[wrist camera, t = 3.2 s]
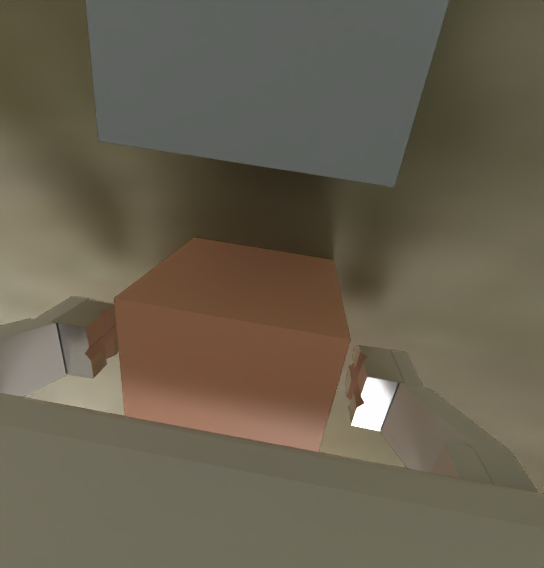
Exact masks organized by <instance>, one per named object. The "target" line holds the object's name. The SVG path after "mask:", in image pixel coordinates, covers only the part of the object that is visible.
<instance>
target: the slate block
mask: <svg viewBox="0 0 544 568" xmlns="http://www.w3.org/2000/svg"><path fill="white" fill-rule="evenodd" d="M448 3H449V0H86V11H87V22H88V33H89V44H90V55H91V66H92V77H93V88H94V99H95V110H96V121H97V132H98V141H101V142H108V143H114V144H120V145H127V146H133V147H140V148H146V149H153V150H159V151H165V152H172V153H178V154H185V155H191V156H197V157H204V158H210V159H217V160H223V161H229V162H236V163H242V164H249V165H255V166H262V167H268V168H274V169H281V170H287V171H294V172H300V173H306V174H313V175H319V176H326V177H332V178H338V179H345V180H351V181H358V182H364V183H371V184H377V185H383V186H390V187H394V186H395V183H396V180H397V176H398V173H399V169H400V166H401V163H402V159H403V156H404V152H405V149H406V146H407V142H408V139H409V135H410V132H411V129H412V125H413V122H414V118H415V115H416V112H417V108H418V105H419V101H420V98H421V95H422V91H423V88H424V85H425V81H426V78H427V74H428V71H429V68H430V64H431V61H432V57H433V54H434V51H435V47H436V44H437V40H438V37H439V34H440V30H441V27H442V23H443V20H444V17H445V13H446V10H447V6H448Z"/></svg>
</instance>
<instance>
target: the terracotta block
mask: <svg viewBox="0 0 544 568" xmlns="http://www.w3.org/2000/svg"><path fill="white" fill-rule="evenodd" d="M114 305H115V316H116V327H117V337H118V348H119V358H120V369H121V380H122V390H123V401H124V412H125V416H128V417H133V418H138V419H144V420H149V421H155V422H160V423H165V424H171V425H176V426H182V427H187V428H193V429H198V430H203V431H209V432H214V433H220V434H225V435H230V436H236V437H241V438H246V439H252V440H257V441H262V442H268V443H273V444H278V445H284V446H289V447H294V448H300V449H305V450H310V451H316V452H319V448H320V445H321V441H322V438H323V434H324V431H325V427H326V424H327V420H328V417H329V413H330V410H331V407H332V403H333V400H334V396H335V393H336V389H337V386H338V382H339V379H340V375H341V372H342V368H343V365H344V362H345V358H346V355H347V351H348V348H349V344H350V341H351V339H350V334H349V330H348V325H347V320H346V316H345V311H344V306H343V302H342V297H341V292H340V288H339V283H338V279H337V274H336V269H335V265H334V260H331V259H325V258H318V257H312V256H306V255H300V254H294V253H288V252H282V251H275V250H269V249H263V248H257V247H251V246H245V245H238V244H232V243H226V242H220V241H214V240H208V239H202V238H195V237H194V238H193V239H191V240H190V241H189V242H187V243H186V244H185V245H183V246H182V247H181V248H180V249H178V250H177V251H176V252H174V253H173V254H172V255H170V256H169V257H168V258H166V259H165V260H164V261H162V262H161V263H160V264H158V265H157V266H156V267H155V268H153V269H152V270H151V271H149V272H148V273H147V274H145V275H144V276H143V277H141V278H140V279H139V280H137V281H136V282H135V283H133V284H132V285H131V286H130V287H128V288H127V289H126V290H124V291H123V292H122V293H120V294H119V295H118V296H116V297H115V298H114Z"/></svg>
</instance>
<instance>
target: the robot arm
mask: <svg viewBox="0 0 544 568" xmlns="http://www.w3.org/2000/svg"><path fill="white" fill-rule="evenodd" d="M118 351H119V348H118V337H117V327H116V316H115V305H114V303H112V302H106V301H101V300H96V299H90V298H86V297H79V296H71V297H70V298H68V299H66V300H65V301H63V302H61V303H60V304H58V305H57V306H55V307H53V308H52V309H50V310H48V311H47V312H45V313H44V314H42V315H40V316H39V317H37V318H35V319H30V318H29V319H25V320H21V321H17V322H13V323H8V324H4V325H0V568H544V494H541V493H539V492H538V491H537V489H536V488H535V486H534V485H533V483H532V482H531V480H530V479H529V477H528V476H527V474H526V473H525V471H524V470H523V468H522V467H521V466H520V464H519V463H518V461H517V460H516V458H515V457H514V455H513V454H512V452H511V451H510V450H509V449H507V448H506V447H505V446H503V445H502V444H501V443H500V442H498V441H497V440H496V439H494V438H493V437H492V436H491V435H489V434H488V433H487V432H485V431H484V430H483V429H481V428H480V427H479V426H478V425H476V424H475V423H474V422H472V421H471V420H470V419H468V418H467V417H466V416H465V415H463V414H462V413H461V412H459V411H458V410H457V409H455V408H454V407H453V406H452V405H450V404H449V403H448V402H446V401H445V400H444V399H443V398H441V397H440V396H439V395H437V394H436V393H435V392H433V391H432V390H431V389H430V388H425V387H424V386H423V384H422V382H421V380H420V378H419V376H418V374H417V372H416V370H415V368H414V366H413V364H412V362H411V360H410V358H409V356H408V354H407V353H406V352H404V351H397V350H389V349H382V348H375V347H368V346H361V345H356V347H355V349H354V352H353V355H352V356H353V361H354V363H353V364H352V365H350V366H349V368H348V372H347V377H346V395H347V397H348V398H349V399H350V400H351V401H350V404H349V407H348V408H349V414H350V419H351V425H353V426H358V427H362V428H367V429H372V430H377V431H381V432H380V433H381V434H382V436H383V437H384V438H385V440H386V441H387V442H388V444H389V445H390V446H391V447H392V449H393V450H394V451H395V453H396V454H397V455H398V457H399V458H400V459H401V461H402V462H403V463H404V464H405V466H406V467H407V468H408V469H407V468H402V467H397V466H391V465H386V464H380V463H374V462H369V461H364V460H358V459H353V458H348V457H342V456H337V455H332V454H326V453H321V452H316V451H310V450H305V449H300V448H294V447H289V446H284V445H278V444H273V443H268V442H262V441H257V440H252V439H246V438H241V437H236V436H230V435H225V434H220V433H214V432H209V431H203V430H198V429H193V428H187V427H182V426H176V425H171V424H165V423H160V422H155V421H149V420H144V419H138V418H133V417H128V416H122V415H117V414H112V413H106V412H101V411H96V410H90V409H85V408H80V407H74V406H69V405H63V404H58V403H53V402H47V401H42V400H37V399H31V398H26V397H25V396H27V395H29V394H31V393H32V392H34V391H36V390H38V389H40V388H42V387H44V386H46V385H48V384H50V383H52V382H54V381H56V380H58V379H60V378H62V377H64V376H66V374H69V375H75V376H82V377H88V378H94V377H95V376H96V375H97V374H98V373H99V372H100V371H101V370H102V369H103V368H104V367H105V366H106V365H107V360H106V359H107V358H109V357H112V356H114V355H116V354H117V353H118Z"/></svg>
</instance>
